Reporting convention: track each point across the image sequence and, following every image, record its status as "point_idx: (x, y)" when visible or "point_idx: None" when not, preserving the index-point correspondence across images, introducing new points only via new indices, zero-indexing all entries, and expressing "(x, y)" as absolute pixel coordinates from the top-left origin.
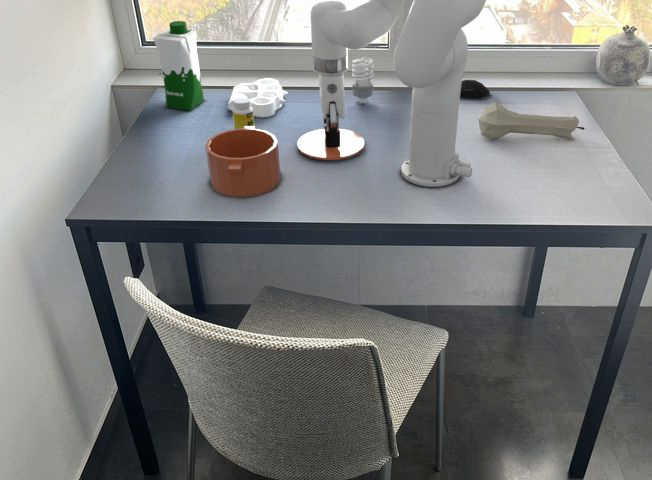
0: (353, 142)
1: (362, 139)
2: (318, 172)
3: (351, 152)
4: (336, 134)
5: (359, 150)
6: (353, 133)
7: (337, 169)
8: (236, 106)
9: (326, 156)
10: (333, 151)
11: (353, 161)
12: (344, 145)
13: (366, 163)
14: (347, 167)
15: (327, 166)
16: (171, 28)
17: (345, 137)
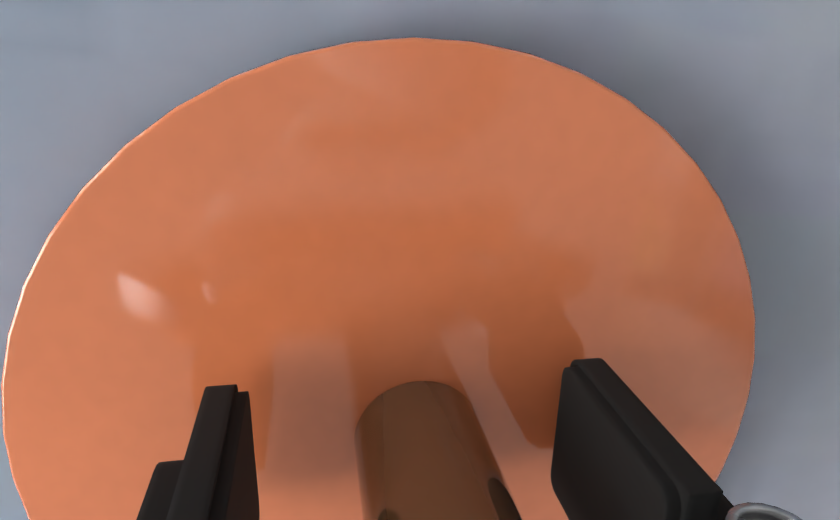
0: (450, 190)
1: (371, 58)
2: (823, 472)
3: (696, 229)
4: (732, 506)
5: (668, 133)
6: (162, 170)
7: (832, 341)
8: None
9: (703, 457)
10: None
11: (743, 197)
12: (510, 297)
13: (823, 67)
14: (830, 259)
15: (757, 416)
16: None
17: (290, 280)
